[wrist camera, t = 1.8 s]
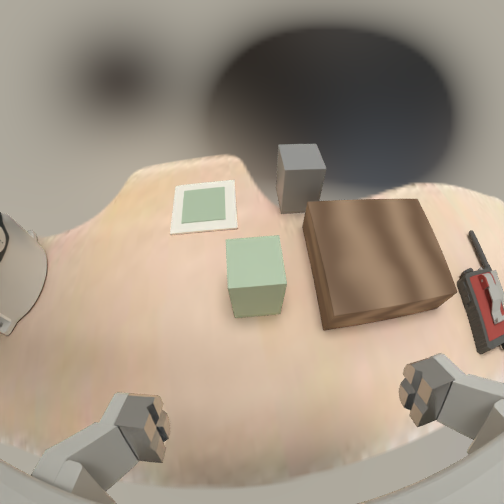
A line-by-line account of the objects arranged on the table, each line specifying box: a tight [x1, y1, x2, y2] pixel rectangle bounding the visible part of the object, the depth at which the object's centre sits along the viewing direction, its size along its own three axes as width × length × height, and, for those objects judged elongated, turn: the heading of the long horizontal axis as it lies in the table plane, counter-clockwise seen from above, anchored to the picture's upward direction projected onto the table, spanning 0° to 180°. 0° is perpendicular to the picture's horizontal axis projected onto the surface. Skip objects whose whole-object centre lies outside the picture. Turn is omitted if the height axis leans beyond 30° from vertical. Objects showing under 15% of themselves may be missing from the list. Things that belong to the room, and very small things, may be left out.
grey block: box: [276, 144, 326, 214], centre depth 36 cm, size 5×5×8 cm
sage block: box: [226, 235, 287, 318], centre depth 28 cm, size 5×5×8 cm
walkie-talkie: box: [457, 231, 504, 354], centre depth 29 cm, size 9×4×20 cm
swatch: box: [170, 180, 238, 235], centre depth 39 cm, size 9×9×1 cm
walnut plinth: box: [303, 199, 457, 330], centre depth 31 cm, size 16×14×5 cm
